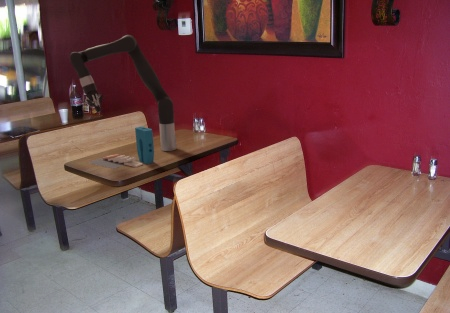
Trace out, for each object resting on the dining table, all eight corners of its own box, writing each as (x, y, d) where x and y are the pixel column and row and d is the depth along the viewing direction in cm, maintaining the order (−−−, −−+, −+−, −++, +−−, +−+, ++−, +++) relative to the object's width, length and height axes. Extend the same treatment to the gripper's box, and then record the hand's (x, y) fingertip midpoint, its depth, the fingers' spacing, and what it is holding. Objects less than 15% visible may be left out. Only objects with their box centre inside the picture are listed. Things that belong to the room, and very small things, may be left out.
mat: (86, 163, 269) (86, 162, 269) (106, 156, 281) (106, 156, 281) (114, 169, 257) (114, 168, 257) (133, 162, 269) (133, 161, 268)
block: (155, 163, 265) (153, 129, 259) (148, 165, 262) (145, 131, 256) (144, 159, 274) (142, 126, 268) (137, 160, 271) (134, 127, 265)
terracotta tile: (102, 157, 274) (113, 155, 267) (108, 155, 277) (119, 153, 271) (102, 159, 274) (113, 157, 268) (109, 157, 278) (120, 155, 272)
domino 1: (107, 159, 271) (118, 156, 265) (114, 156, 275) (124, 154, 269) (108, 161, 271) (119, 158, 265) (114, 158, 275) (125, 156, 269)
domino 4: (123, 162, 264) (136, 165, 258) (130, 160, 268) (142, 163, 262) (124, 164, 264) (136, 167, 259) (130, 161, 268) (142, 165, 263)
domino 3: (118, 161, 266) (129, 159, 260) (124, 158, 270) (136, 156, 264) (118, 163, 266) (130, 161, 260) (125, 160, 270) (136, 158, 264)
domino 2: (112, 160, 269) (124, 158, 263) (119, 157, 273) (130, 155, 266) (113, 162, 269) (124, 160, 263) (119, 159, 273) (131, 157, 267)
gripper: (82, 85, 267) (94, 113, 270) (100, 80, 277) (111, 107, 280) (75, 88, 272) (87, 116, 275) (93, 83, 282) (104, 110, 285)
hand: (99, 112), depth 277 cm, fingers closed
